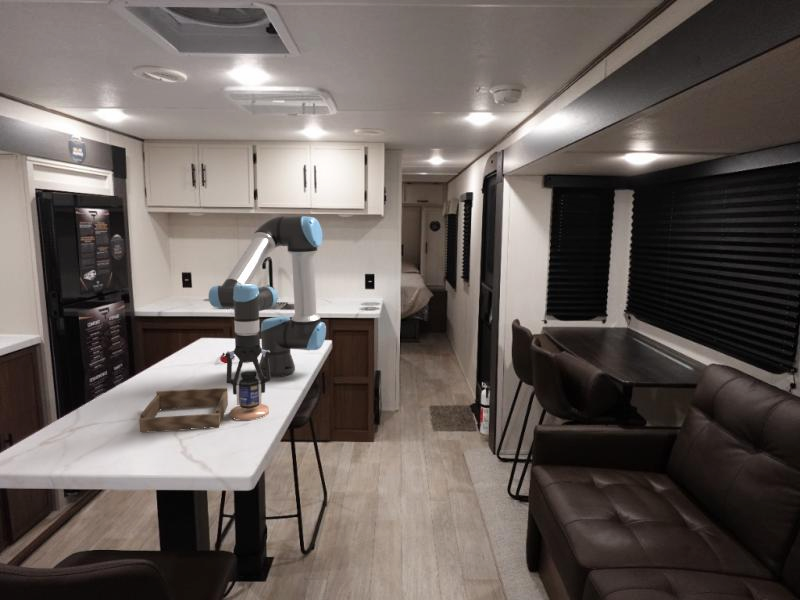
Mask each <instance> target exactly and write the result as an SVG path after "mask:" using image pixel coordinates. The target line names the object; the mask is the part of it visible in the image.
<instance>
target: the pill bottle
mask: <svg viewBox="0 0 800 600" xmlns="http://www.w3.org/2000/svg"><path fill="white" fill-rule="evenodd" d="M240 377H241V379H240V380H239V382H238V383H239V396H240V405H239V406H241V407H242V408H247V409H248V408H249V409H250V408H255V407H257V406H258V405H259V385H258V384H259V382H260V380H258V379H259V378H258V379H257V378H256V377H257V371H256V370H246V371H241V372H240Z"/></svg>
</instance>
